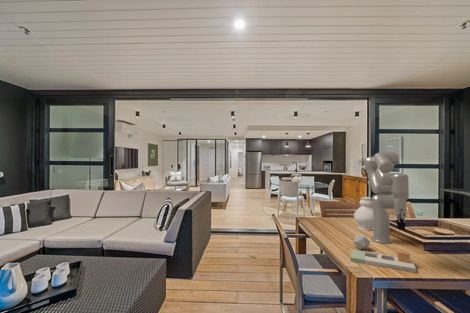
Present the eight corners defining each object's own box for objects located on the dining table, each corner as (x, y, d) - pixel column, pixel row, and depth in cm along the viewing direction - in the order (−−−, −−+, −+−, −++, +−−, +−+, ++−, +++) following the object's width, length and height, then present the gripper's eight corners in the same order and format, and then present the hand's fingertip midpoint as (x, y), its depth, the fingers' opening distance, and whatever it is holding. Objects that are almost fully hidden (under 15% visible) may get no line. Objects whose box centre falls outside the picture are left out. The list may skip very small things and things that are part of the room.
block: (397, 257, 132) (397, 249, 132) (408, 259, 129) (408, 251, 129) (398, 261, 127) (398, 252, 127) (409, 263, 125) (409, 254, 125)
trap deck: (351, 253, 144) (351, 249, 144) (411, 262, 130) (411, 259, 130) (350, 261, 132) (350, 257, 132) (415, 272, 118) (415, 268, 118)
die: (369, 253, 144) (374, 238, 148) (355, 245, 146) (360, 230, 149) (362, 253, 152) (367, 239, 156) (348, 245, 154) (354, 231, 157)
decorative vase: (362, 224, 207) (361, 195, 208) (383, 229, 192) (383, 198, 192) (349, 227, 198) (349, 197, 199) (371, 232, 183) (370, 200, 183)
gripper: (391, 193, 145) (391, 223, 145) (394, 197, 130) (394, 231, 130) (406, 194, 141) (406, 225, 141) (411, 198, 126) (411, 233, 126)
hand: (400, 227), depth 135 cm, fingers open, 4 cm apart
